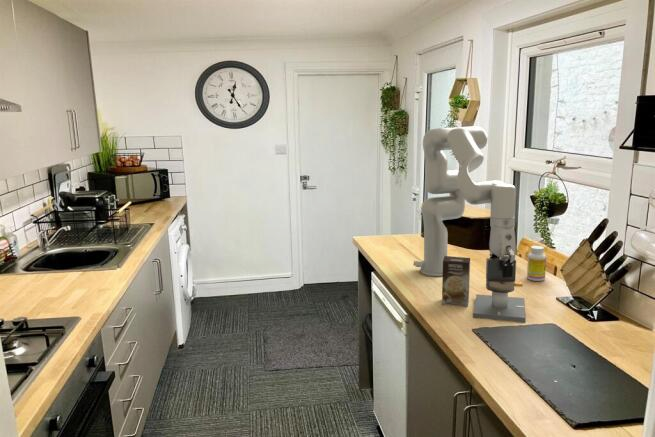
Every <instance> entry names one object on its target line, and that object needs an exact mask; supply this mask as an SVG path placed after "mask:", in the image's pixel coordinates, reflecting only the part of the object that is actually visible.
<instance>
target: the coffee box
mask: <svg viewBox="0 0 655 437" xmlns="http://www.w3.org/2000/svg"><path fill="white" fill-rule="evenodd" d="M470 272H471V257H463V256H462V257H461V256H450V255H447V256H445V257H444V259H443V276H442V282H441V284H442V285H441V287H442V288H441V289H442V290H441V292H442V293H441V305H443V306H444V305H445V306H454V307H455V306H456V307H464V308H468V307H469V301H470V281H471V279H470V278H471V275H470Z"/></svg>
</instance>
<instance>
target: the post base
mask: <svg viewBox="0 0 655 437" xmlns="http://www.w3.org/2000/svg"><path fill="white" fill-rule="evenodd" d="M525 301H526V300H525V297H514V296H509V293H497V292H492V291H491V295H489V294H476V295H475V302H474V307H473V310H472V311H473V312H472V318H474V319H484V320H496V321H506V322H507V321H508V322H518V323H526V315H527V314H526V304H525Z"/></svg>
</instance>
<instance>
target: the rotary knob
mask: <svg viewBox="0 0 655 437" xmlns="http://www.w3.org/2000/svg"><path fill="white" fill-rule="evenodd" d="M507 260H508V259H506V261H507ZM485 263H486V264H485V265H486V266H485V288H486V289H487V291H490V292H491V293H492V292H497V293H508V294H509V293H512V292H514V291H515V287H521V288H522V287H523V286H524V285H523V282H518V281H517V282H516V271H517V269H516V268H517V260H516V259H514V263H513V272H512V277H505V278H503V277H502V265H504V264H503V260H502V258H490V257H489V258H487V257H486V262H485Z"/></svg>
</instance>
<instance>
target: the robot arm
mask: <svg viewBox="0 0 655 437" xmlns="http://www.w3.org/2000/svg"><path fill="white" fill-rule="evenodd" d="M487 144H488V134H487V132H486V130H485V129H484V128H483V127H481V126H460V127H439V128H433V129H430V130H427V131H426V132H425V133H424V135H423V139H422V150H423V153H424V157H425V189H426V191H427V193H429V194H430V195H443V194H445V196H435V197H430V198H427V199H424V201H423V202H422V204H421V215H422V219H423V220H422V221H423V260H421V261H418V260H413V266H415V267H416V268H419V269H420V270H419V272H420V274H422V275H424V276H428V277H443V259H444V257H445V256H448V237H449V236H448V235H449V234H448V228H447V227H446V226H445V224H444V222H443V221H447V220H454V219H455V220H456V219H459V218H462V217H463V215H464V213H465V208H466V207H465V205H466V202H467V203H469V204H470V205H475V206H476V205H477V206H478V205H484V204H490V223H489V224H490V225H489V226H490V234H489V235H490V236H489V241H488V246H489V258H502V260H503V264H504V265H502V277H503V278H505V277H512V272H513V263H514V259H515V258H516V252H517V250H516V249H517V248H516V231H515V224H516V223H515V222H516V221H515V219H516V197H517V196H516V195H517V189H516V186H515V185H513V184H509V183H505V182H504V181H502V180H484V181H475V182H474V180H473V179H472V177H471V176H470V173H471V172H473V171H474V170H477V169H478V168H479V167H480V166H481V165H482V164H483V162H484V157H485V156H484V154H483V153H482V151H481V150H482V149H484V148H485V147H486V145H487ZM444 151H451V152H452V154H453V156H454V157H455V159H456V160H457V162H458V165H459V169H448V158H447V155H446V154H445V152H444ZM446 194H449V195H447V196H446ZM506 259H508V260H507V261H506ZM515 260H516V259H515Z"/></svg>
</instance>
